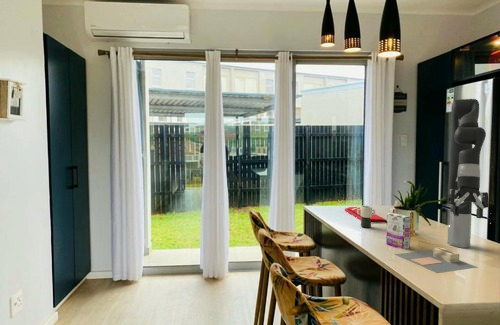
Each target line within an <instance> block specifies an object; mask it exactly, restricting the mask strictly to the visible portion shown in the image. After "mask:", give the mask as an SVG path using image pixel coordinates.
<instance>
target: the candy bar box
mask: <svg viewBox="0 0 500 325" xmlns="http://www.w3.org/2000/svg"><path fill="white" fill-rule="evenodd" d="M411 219H412V216H409V215H404V214H400V213H395V212H389V213H388V212H387V213H386V220H387V223H386V245H388V246H391V247H393V248H398V249H402V250H406V249H410V248H411V227H412V226H411V223H412V220H411Z"/></svg>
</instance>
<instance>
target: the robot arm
mask: <svg viewBox="0 0 500 325" xmlns="http://www.w3.org/2000/svg"><path fill="white" fill-rule="evenodd" d="M450 112H451V113H450V114H451V137H450V148H449V149H450V152H449V153H450V154H449V175H448V176H449V178H448V185H447V195H448V196H447V204H448V205H451V206H450V209H449V210H450V211H449V213H450V214H449V224H448V226H447V242H446V243H447V244H449V245H450V246H452V247H456V248H461V249H468V248H471V234H472V206H473V205H474V206H476V207H475V208H476V210H475V211H476V216H475V217H476V219H482V218H483V217H484V209H487V208H489V206H490V205H489V203H490V202H489V192H481V191H480V187H481V167H480V162H481V161H480V158H481V157H480V156H481V150H482V147H483V144H484V142H485V140H486V137H487V136H486V135H487V133H486V130H485V129H484V128H483V127H481V126H479V117H480V116H479V115H480V102H479V100H478V99H476V98H464V99H454V100H453V101H452V103H451V111H450ZM479 197H480V198H479Z"/></svg>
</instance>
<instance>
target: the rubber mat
mask: <svg viewBox="0 0 500 325" xmlns="http://www.w3.org/2000/svg"><path fill="white" fill-rule="evenodd" d="M394 256H396V257H399V258H401V259H404V260H405V261H407V262H410V263H413V264H416V265H417V266H420V267H422V268H425V269H426V270H430V271H431V272H433V273H435V274H441V273H448V272H455V271H462V270H469V269H478V266H475V265H473V264H470V263H468V262H465V261H462V260H460V259H459V262H452V263H450V262H447V261H445V260H442V259H439V258H437V257H434V256H433V249H432V250H431V249H428V250H421V251H420V250H419V251H413V252H412V251H410V252H404V253H402V252H400V253H394Z"/></svg>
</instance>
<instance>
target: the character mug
mask: <svg viewBox="0 0 500 325" xmlns="http://www.w3.org/2000/svg"><path fill="white" fill-rule="evenodd" d="M359 207H360V209H357V214H360V216H361V217H362V220H360V226H361V227H362V228H370V227H372V223H371V221H370V217H372V215H375V214H376V210H375V209H373V207H372V206H371V205H361V206H359ZM359 211H360V213H359Z"/></svg>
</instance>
